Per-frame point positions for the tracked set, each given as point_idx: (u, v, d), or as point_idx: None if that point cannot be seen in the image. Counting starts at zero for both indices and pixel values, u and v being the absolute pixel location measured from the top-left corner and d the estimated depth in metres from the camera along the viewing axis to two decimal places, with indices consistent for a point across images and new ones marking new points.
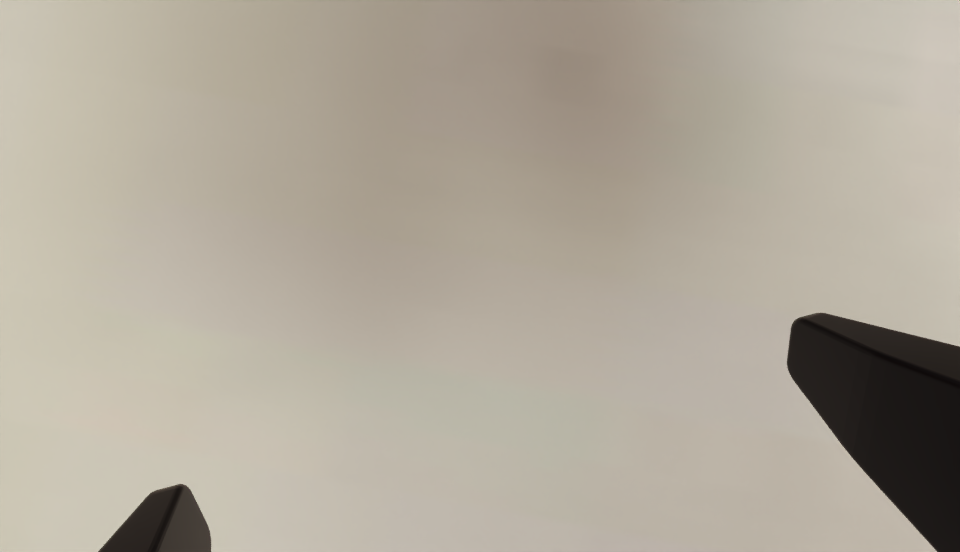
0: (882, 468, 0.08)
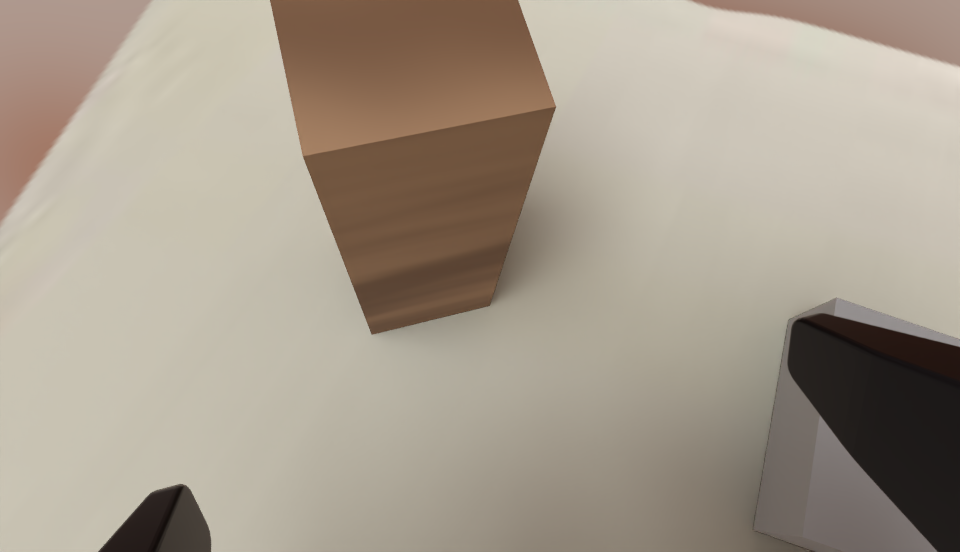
0: (882, 468, 0.08)
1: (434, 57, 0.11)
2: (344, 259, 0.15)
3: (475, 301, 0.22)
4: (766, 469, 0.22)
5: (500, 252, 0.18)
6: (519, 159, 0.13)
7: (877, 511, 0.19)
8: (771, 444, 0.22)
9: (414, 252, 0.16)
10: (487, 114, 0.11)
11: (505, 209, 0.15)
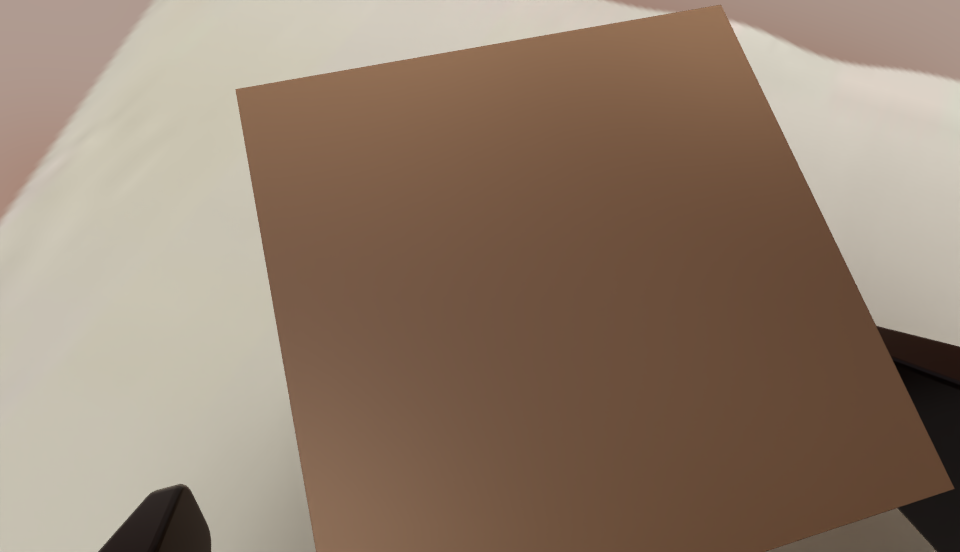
0: None
1: (649, 359, 0.05)
2: None
3: None
4: None
5: None
6: None
7: None
8: None
9: None
10: (798, 521, 0.04)
11: None
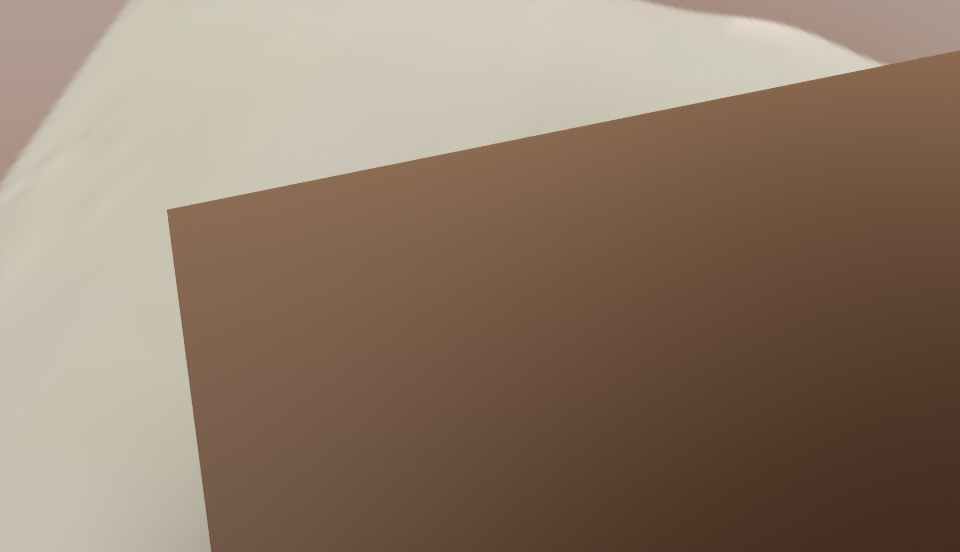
0: None
1: None
2: None
3: None
4: None
5: None
6: None
7: None
8: None
9: None
10: None
11: None
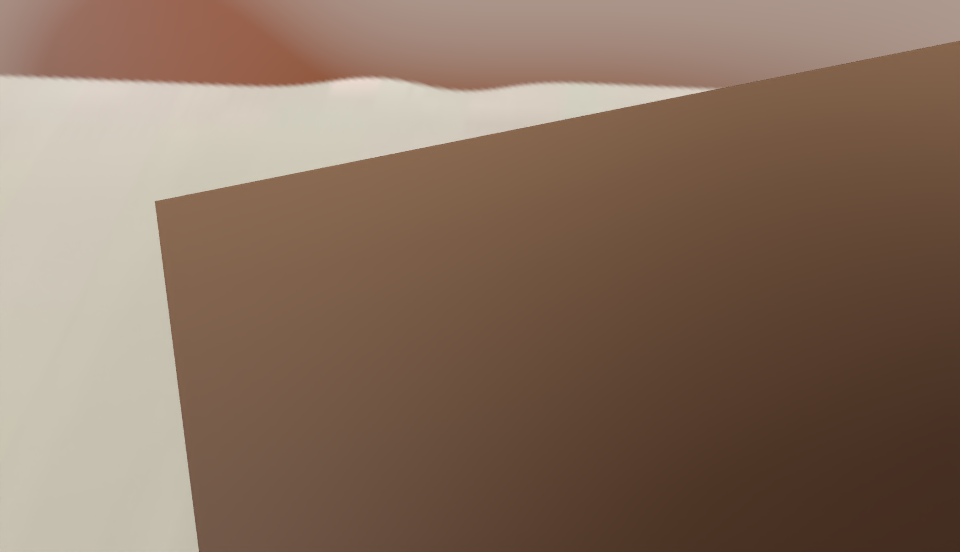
0: None
1: None
2: None
3: None
4: None
5: None
6: None
7: None
8: None
9: None
10: None
11: None
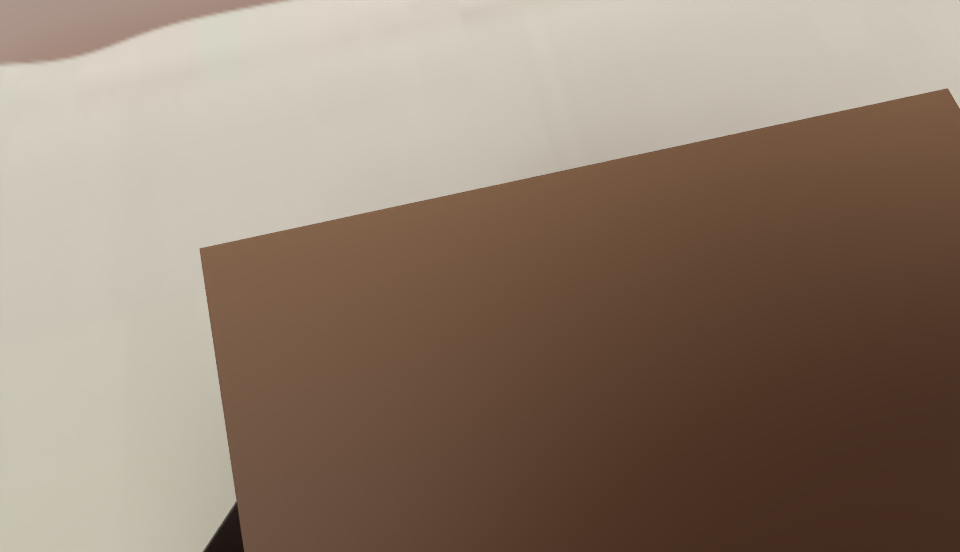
0: None
1: None
2: None
3: None
4: None
5: None
6: None
7: None
8: None
9: None
10: None
11: None
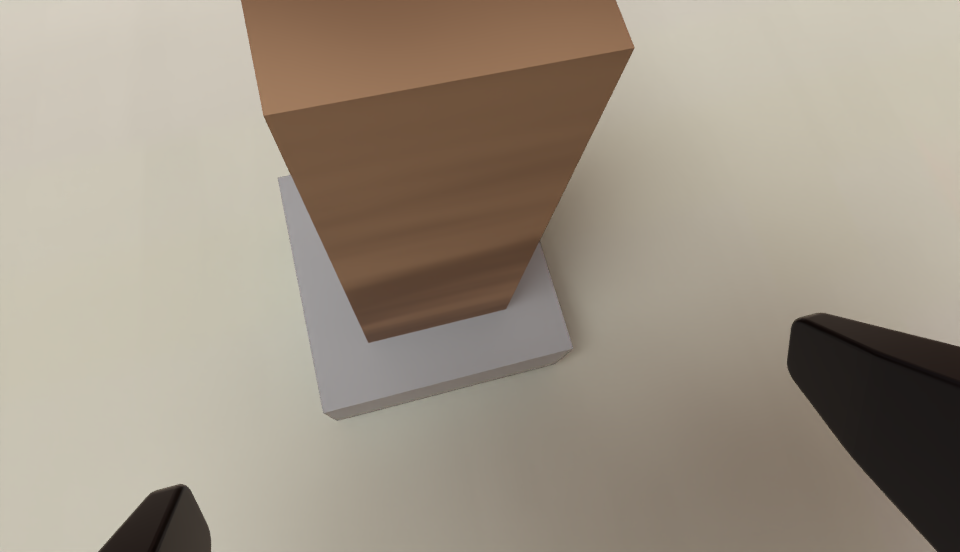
0: (882, 468, 0.08)
1: None
2: (332, 260, 0.12)
3: (490, 305, 0.19)
4: None
5: (527, 250, 0.14)
6: (570, 128, 0.09)
7: (384, 348, 0.19)
8: None
9: (422, 250, 0.13)
10: (536, 57, 0.07)
11: (541, 196, 0.11)
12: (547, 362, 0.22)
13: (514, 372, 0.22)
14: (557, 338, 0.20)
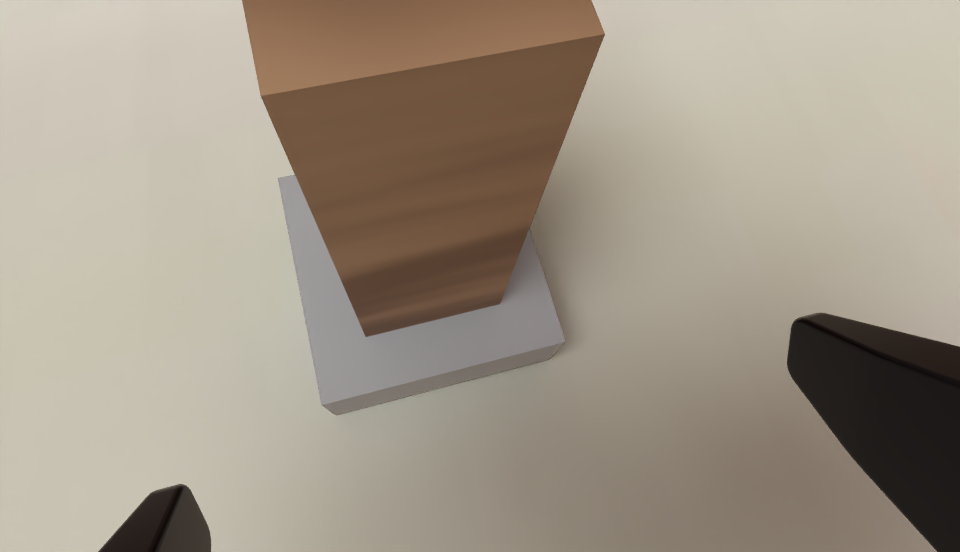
0: (882, 468, 0.08)
1: None
2: (328, 246, 0.12)
3: (484, 299, 0.19)
4: None
5: (516, 240, 0.15)
6: (550, 113, 0.10)
7: (381, 342, 0.20)
8: None
9: (414, 238, 0.13)
10: (513, 42, 0.08)
11: (526, 183, 0.12)
12: (541, 357, 0.22)
13: (509, 367, 0.22)
14: (550, 332, 0.20)
